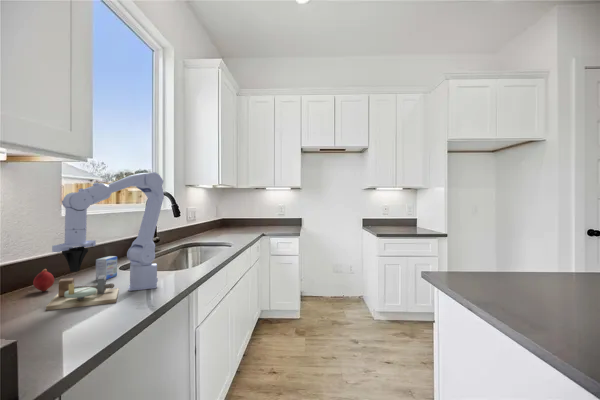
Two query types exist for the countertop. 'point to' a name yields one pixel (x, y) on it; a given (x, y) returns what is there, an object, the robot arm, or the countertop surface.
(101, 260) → the medicine box
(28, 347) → the countertop surface
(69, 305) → the board
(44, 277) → the onion
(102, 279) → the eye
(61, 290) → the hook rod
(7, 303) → the countertop surface
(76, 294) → the handwheel
